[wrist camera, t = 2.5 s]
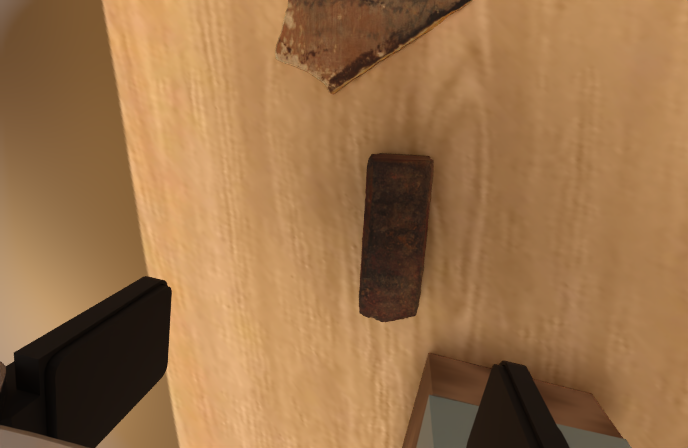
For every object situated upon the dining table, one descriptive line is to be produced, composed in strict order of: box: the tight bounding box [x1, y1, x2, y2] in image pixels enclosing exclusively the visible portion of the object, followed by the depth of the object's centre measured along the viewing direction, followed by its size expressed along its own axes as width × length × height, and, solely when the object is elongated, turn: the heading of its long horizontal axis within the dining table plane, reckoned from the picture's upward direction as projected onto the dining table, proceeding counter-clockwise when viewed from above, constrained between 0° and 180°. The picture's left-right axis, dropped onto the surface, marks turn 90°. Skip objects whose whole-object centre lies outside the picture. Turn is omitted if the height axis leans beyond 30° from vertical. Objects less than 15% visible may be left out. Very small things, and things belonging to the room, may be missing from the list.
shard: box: [275, 0, 472, 94], centre depth 24 cm, size 11×8×2 cm
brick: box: [359, 153, 433, 322], centre depth 25 cm, size 11×4×5 cm, turn 177°
